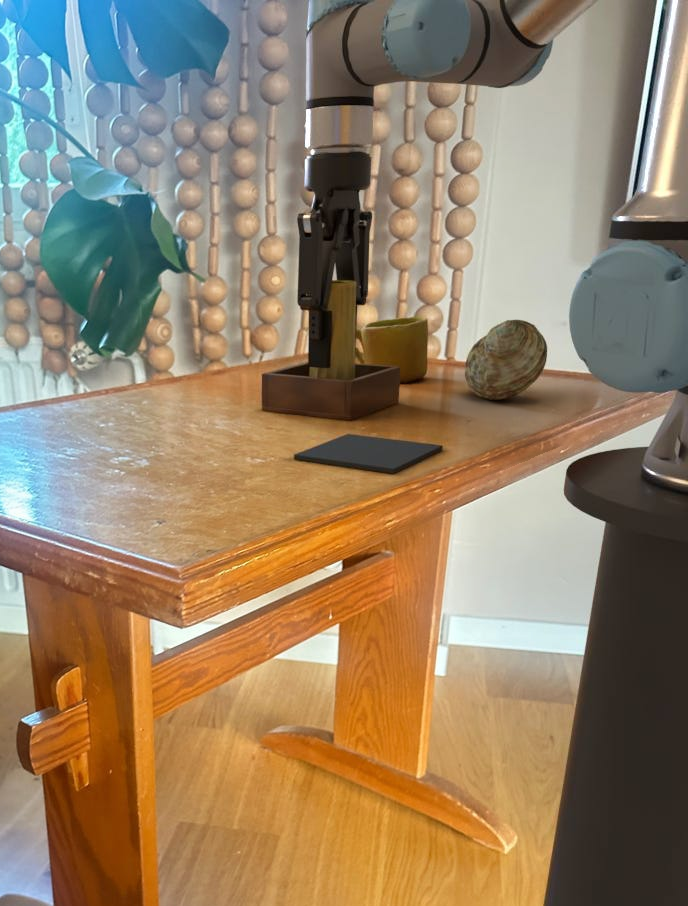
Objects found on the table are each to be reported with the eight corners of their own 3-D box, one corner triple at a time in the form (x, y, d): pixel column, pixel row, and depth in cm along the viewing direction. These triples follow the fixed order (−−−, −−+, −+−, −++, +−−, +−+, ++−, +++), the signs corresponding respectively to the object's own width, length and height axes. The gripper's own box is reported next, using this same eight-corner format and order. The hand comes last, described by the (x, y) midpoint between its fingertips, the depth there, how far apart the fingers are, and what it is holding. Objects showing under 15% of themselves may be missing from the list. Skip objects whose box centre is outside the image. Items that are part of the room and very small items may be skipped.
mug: (448, 361, 134) (432, 295, 129) (422, 394, 128) (405, 326, 123) (374, 372, 142) (356, 310, 137) (346, 404, 136) (326, 340, 131)
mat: (442, 450, 94) (442, 445, 94) (393, 474, 86) (393, 468, 86) (347, 438, 100) (347, 433, 100) (293, 459, 92) (293, 454, 92)
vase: (299, 400, 118) (301, 281, 112) (344, 396, 119) (348, 279, 113) (317, 408, 113) (320, 284, 107) (363, 404, 114) (368, 281, 108)
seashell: (554, 393, 120) (565, 312, 116) (529, 408, 112) (540, 322, 108) (475, 387, 126) (482, 310, 122) (445, 401, 117) (452, 318, 113)
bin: (398, 403, 117) (400, 366, 115) (350, 420, 108) (351, 381, 106) (313, 394, 124) (314, 360, 122) (261, 410, 115) (261, 373, 113)
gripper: (348, 156, 113) (342, 352, 123) (265, 152, 100) (265, 372, 109) (404, 153, 109) (393, 356, 119) (325, 147, 95) (319, 376, 105)
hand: (331, 363), depth 114 cm, fingers closed on vase, 5 cm apart
